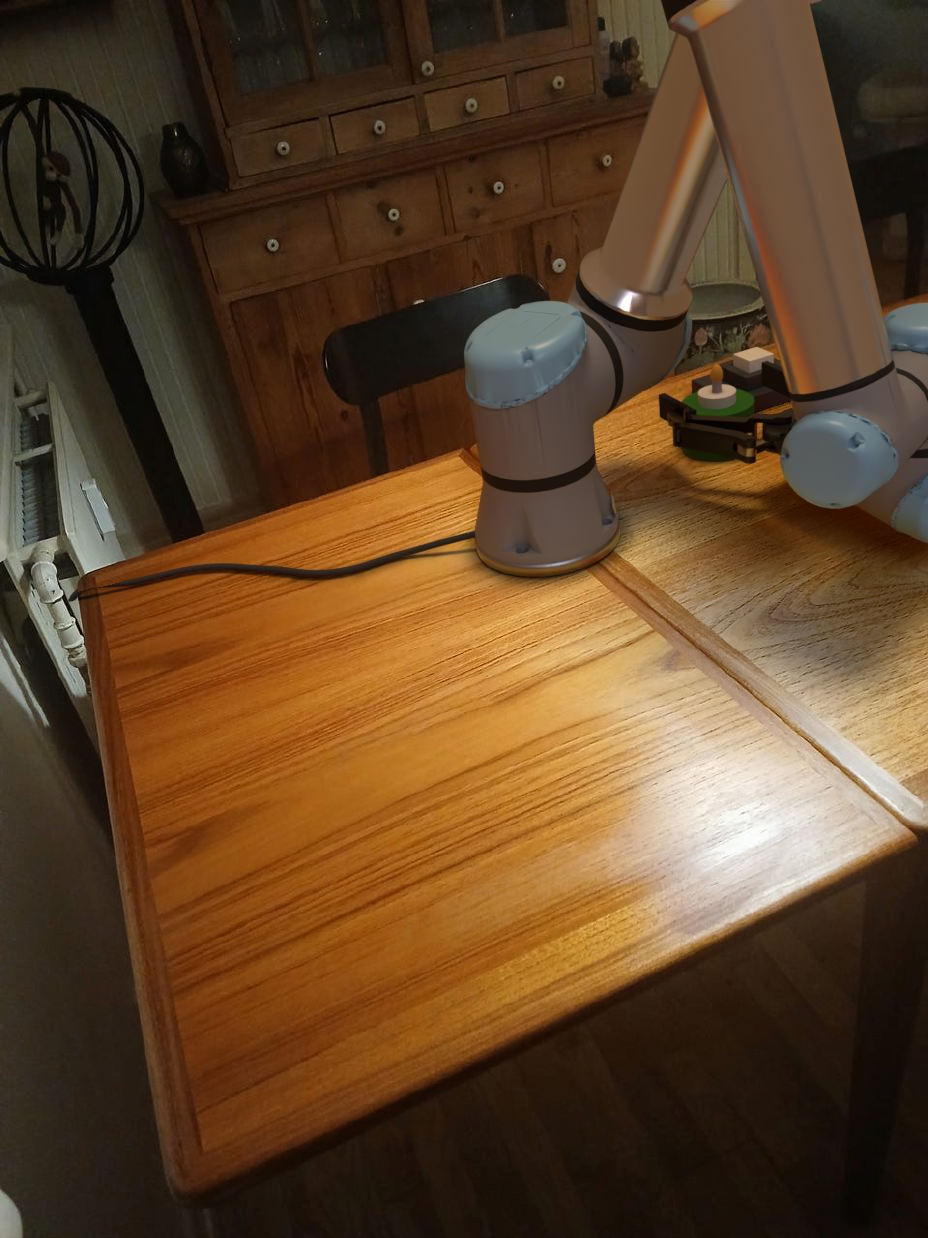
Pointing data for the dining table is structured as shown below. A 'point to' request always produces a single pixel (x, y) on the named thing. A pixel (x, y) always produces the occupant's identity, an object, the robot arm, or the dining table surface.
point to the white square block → (752, 359)
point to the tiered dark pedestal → (745, 385)
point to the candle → (718, 406)
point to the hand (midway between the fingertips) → (713, 388)
